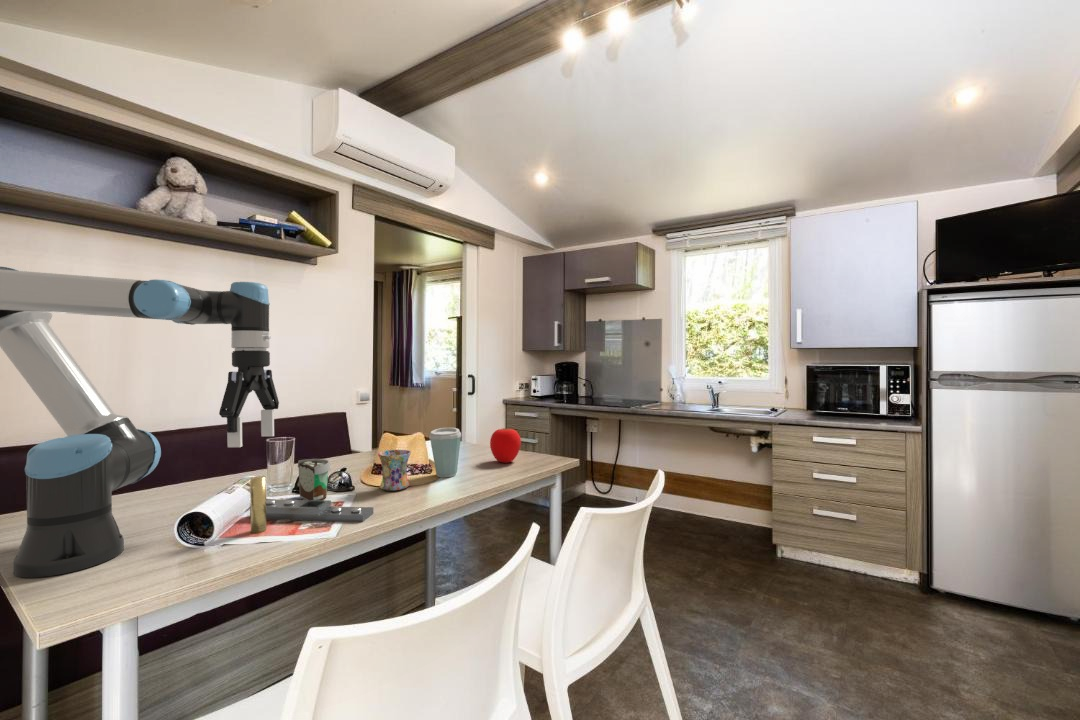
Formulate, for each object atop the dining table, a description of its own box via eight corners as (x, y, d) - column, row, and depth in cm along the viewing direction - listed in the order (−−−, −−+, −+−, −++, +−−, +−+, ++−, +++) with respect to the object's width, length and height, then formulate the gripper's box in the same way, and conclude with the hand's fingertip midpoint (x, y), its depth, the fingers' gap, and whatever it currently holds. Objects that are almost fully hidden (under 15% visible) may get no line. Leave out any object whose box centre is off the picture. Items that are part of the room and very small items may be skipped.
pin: (260, 533, 105) (260, 479, 105) (247, 533, 105) (247, 479, 105) (269, 528, 108) (268, 476, 108) (256, 528, 108) (256, 475, 108)
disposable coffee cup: (458, 479, 150) (458, 432, 150) (425, 479, 150) (424, 432, 150) (464, 471, 161) (464, 427, 161) (433, 471, 161) (432, 427, 161)
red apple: (486, 464, 170) (486, 429, 170) (494, 458, 181) (494, 424, 181) (517, 466, 168) (517, 430, 168) (523, 459, 179) (523, 425, 179)
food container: (338, 499, 130) (338, 463, 130) (315, 504, 125) (315, 467, 125) (320, 490, 138) (319, 456, 138) (297, 495, 134) (297, 460, 134)
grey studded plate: (373, 513, 118) (373, 499, 118) (362, 521, 112) (362, 507, 112) (266, 511, 120) (265, 497, 120) (250, 519, 114) (249, 504, 114)
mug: (416, 488, 141) (416, 452, 140) (387, 494, 134) (387, 457, 134) (397, 480, 149) (396, 447, 149) (368, 486, 143) (368, 451, 142)
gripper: (235, 349, 97) (237, 452, 98) (293, 350, 122) (294, 432, 123) (198, 349, 97) (199, 452, 97) (263, 350, 122) (264, 432, 122)
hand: (252, 441), depth 110 cm, fingers open, 13 cm apart
